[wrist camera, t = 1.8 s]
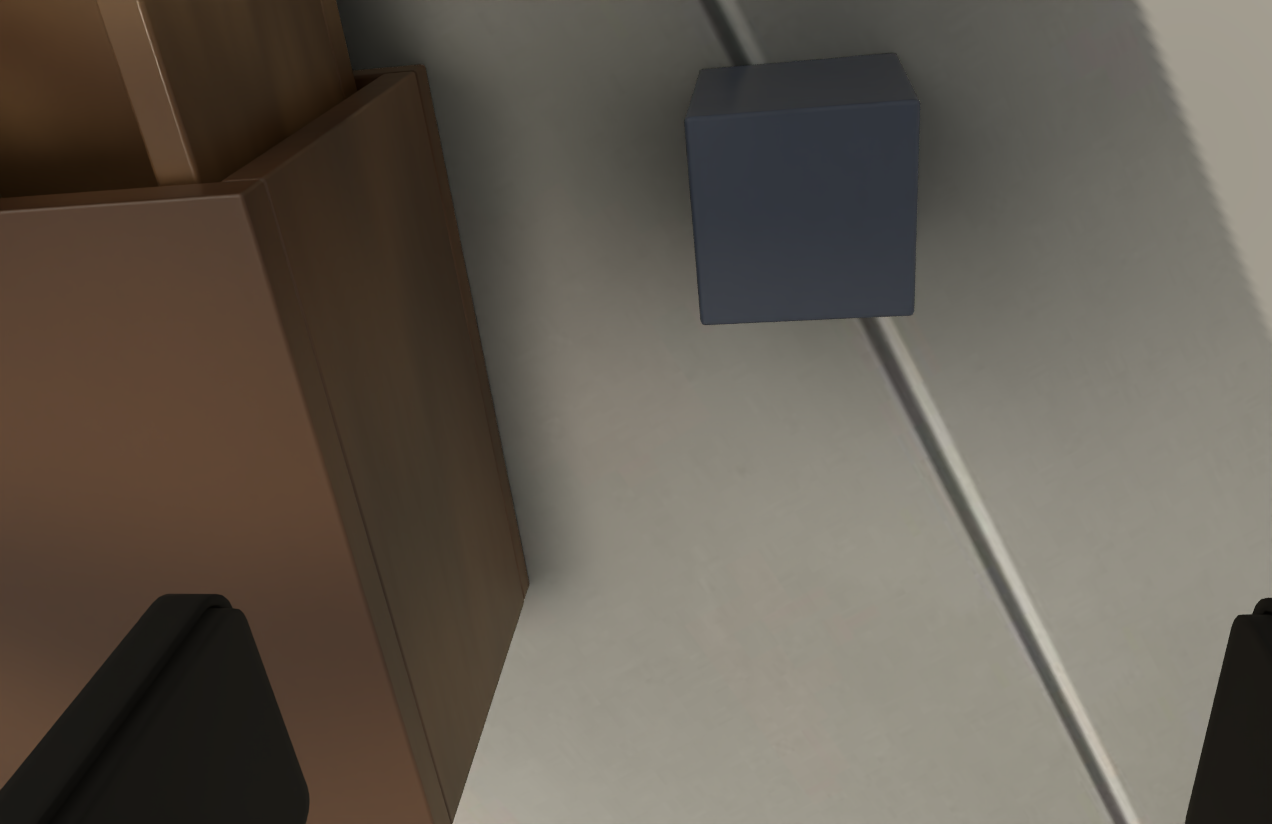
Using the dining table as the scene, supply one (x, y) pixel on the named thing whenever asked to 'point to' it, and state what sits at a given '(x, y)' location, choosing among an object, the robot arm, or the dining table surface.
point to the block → (804, 189)
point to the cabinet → (266, 448)
